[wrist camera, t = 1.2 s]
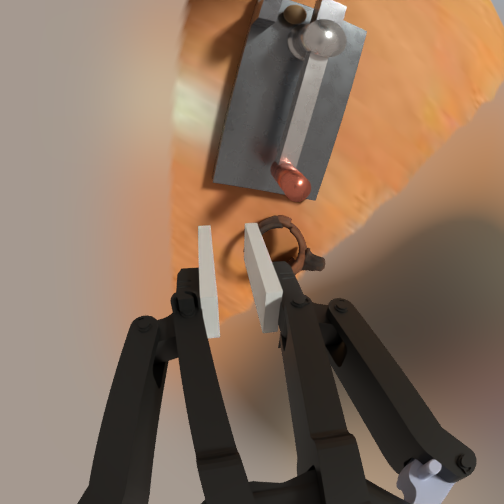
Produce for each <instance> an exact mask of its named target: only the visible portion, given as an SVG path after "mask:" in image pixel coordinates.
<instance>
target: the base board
mask: <svg viewBox="0 0 504 504" xmlns="http://www.w3.org/2000/svg"><path fill="white" fill-rule="evenodd" d="M290 5H299V6H301V7H303V8H304V9H305V11H306V13H307V17H306V20H305V21H304V22H303V23H301V24H291V23H289V22H288V21H286V19H285V18H284V10H285V9H286V8H287V7H288V6H290ZM313 10H314V8H311V7H308V6H305V5H302V4H300V3H297V2H293V1H290V0H257V2H256V5H255V9H254V12H253V15H252V19H251V22H250V25H249V29H248V32H247V36H246V39H245V43H244V46H243V50H242V54H241V57H240V61H239V65H238V69H237V72H236V76H235V80H234V84H233V88H232V92H231V96H230V100H229V104H228V108H227V113H226V117H225V121H224V125H223V130H222V134H221V139H220V143H219V148H218V152H217V157H216V162H215V166H214V171H213V176H212V179H213V183H220V184H226V185H233V186H239V187H245V188H251V189H257V190H262V191H268V192H274V193H279V194H284V195H285V193H284V192H283V190H282V189H281V188H280V186H279V185H278V183H277V182H276V181H275V179H274V178H273V176H272V175H271V172H270V168H271V165H272V163H273V162H274V161H275V160H276V157H277V153H278V150H279V146H280V142H281V139H282V135H283V132H284V128H285V125H286V121H287V117H288V114H289V110H290V107H291V103H292V100H293V96H294V93H295V89H296V85H297V82H298V78H299V75H300V71H301V68H302V64H303V61H304V57H302V56H300V55H299V54H298V53H297V52H296V51H295V49H294V47H293V44H292V37H293V34H294V33H295V31H296V30H298V29H299V28H301V27H303V26H305V25H307V24H310V21H311V17H312V14H313ZM341 28H342V29H343V30H344V32H345V35H346V39H347V43H346V47H345V49H344V51H343V52H342V53H341V54H339V55H337V56H334V57H328V61H327V64H326V68H325V71H324V75H323V78H322V82H321V85H320V89H319V92H318V96H317V99H316V103H315V106H314V109H313V113H312V116H311V120H310V123H309V126H308V130H307V133H306V137H305V140H304V143H303V147H302V150H301V153H300V157H299V160H298V163H297V167H296V169H297V170H298V171H299V172H300V173H301V174H303V175H304V176H305V177H306V178H307V179H308V181H309V182H310V184H311V192H310V194H309V196H308V197H307V198H306V199H310V200H316V197H317V194H318V191H319V189H320V186H321V183H322V180H323V177H324V174H325V171H326V168H327V165H328V162H329V159H330V156H331V152H332V149H333V146H334V143H335V140H336V137H337V134H338V130H339V127H340V124H341V121H342V118H343V114H344V111H345V108H346V104H347V101H348V98H349V94H350V91H351V88H352V84H353V81H354V77H355V74H356V70H357V67H358V63H359V59H360V56H361V52H362V48H363V45H364V41H365V37H366V33H367V31H365V30H363V29H361V28H359V27H357V26H354V25H352V24H350V23H348V22H346V21H343V23H342V26H341Z"/></svg>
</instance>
